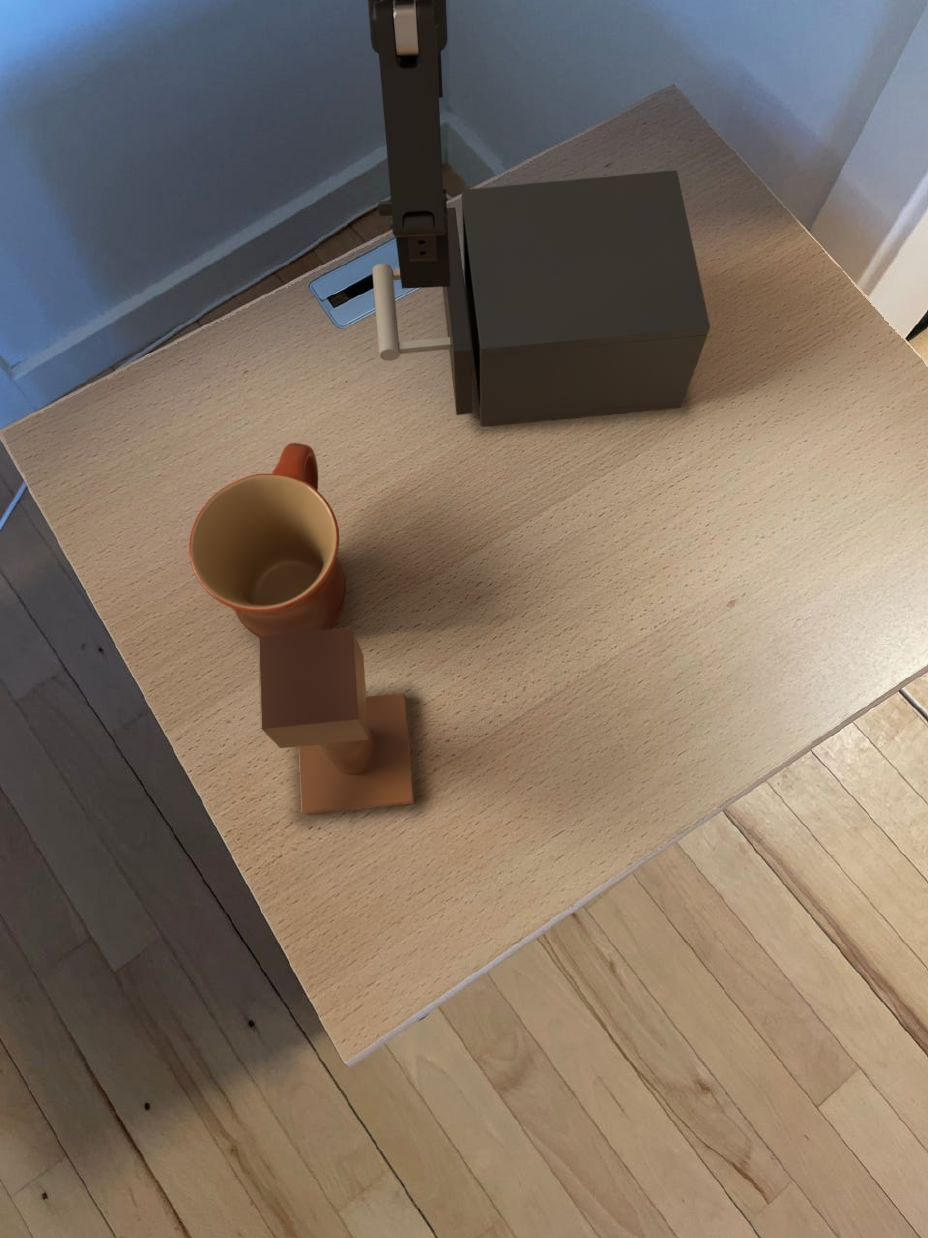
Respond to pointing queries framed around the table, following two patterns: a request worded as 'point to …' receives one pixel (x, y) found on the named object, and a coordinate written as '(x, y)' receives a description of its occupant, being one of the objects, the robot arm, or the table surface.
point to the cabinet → (581, 297)
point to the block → (312, 688)
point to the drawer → (455, 321)
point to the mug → (272, 549)
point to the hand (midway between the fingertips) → (423, 184)
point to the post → (361, 764)
